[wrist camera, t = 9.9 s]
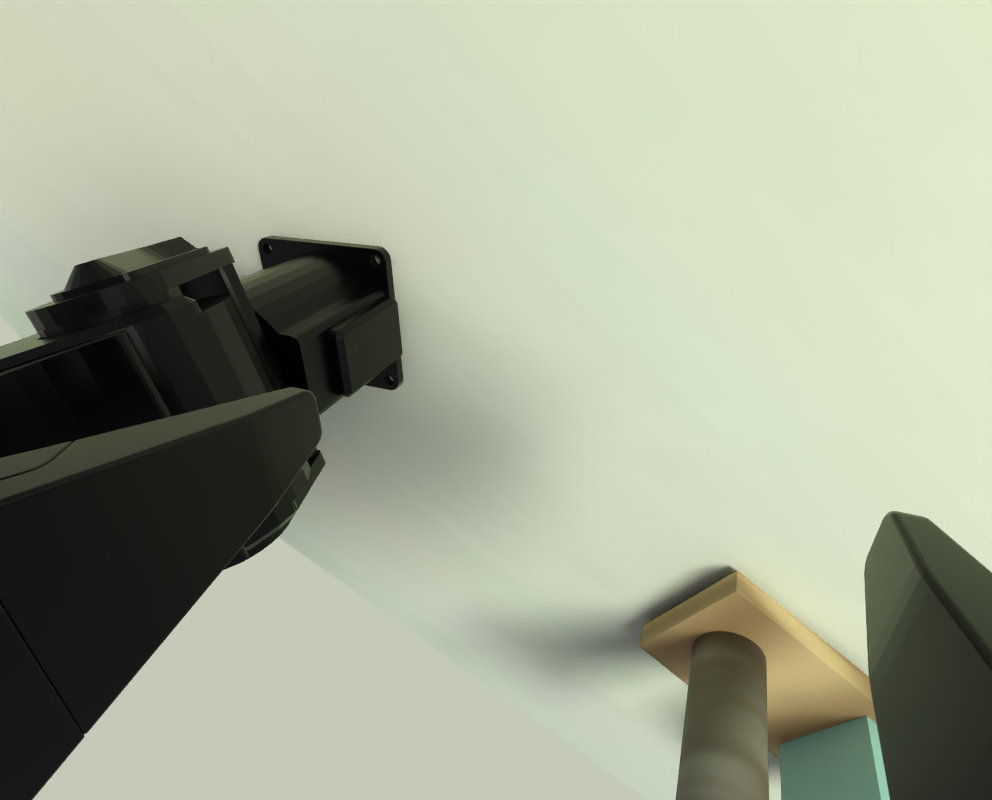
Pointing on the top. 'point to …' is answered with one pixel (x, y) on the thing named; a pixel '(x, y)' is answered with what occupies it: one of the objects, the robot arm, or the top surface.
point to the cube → (835, 764)
